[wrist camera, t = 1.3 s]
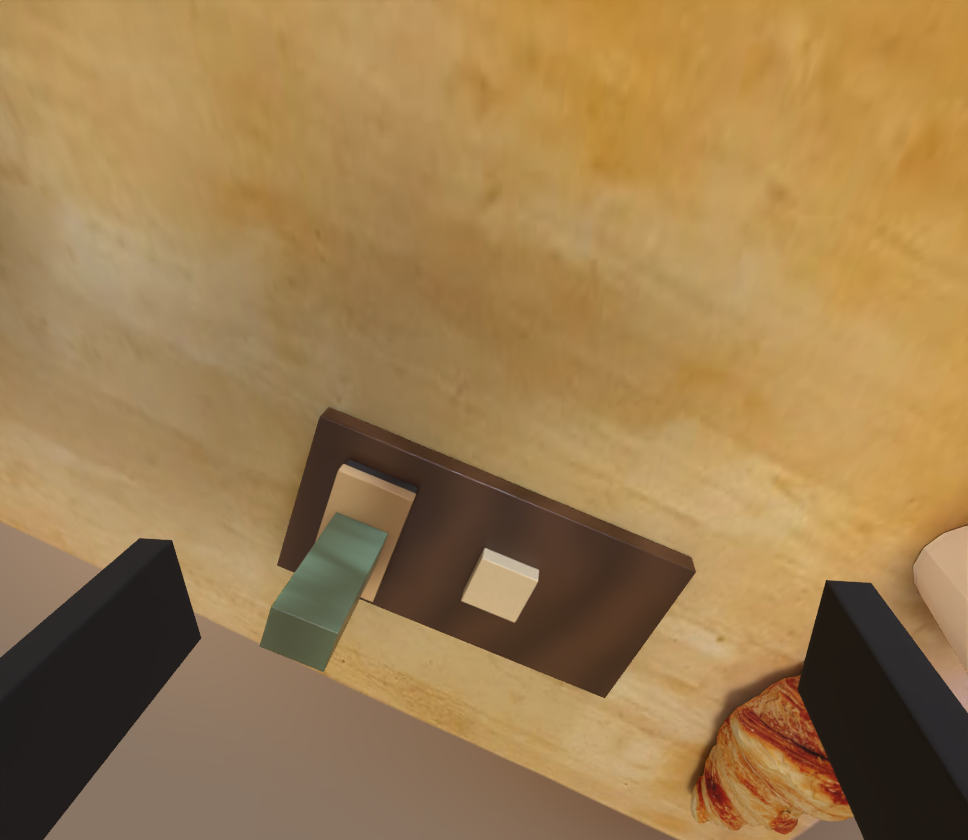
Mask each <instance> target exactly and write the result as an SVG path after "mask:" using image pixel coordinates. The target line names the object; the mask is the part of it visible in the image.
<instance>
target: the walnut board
mask: <svg viewBox="0 0 968 840" xmlns="http://www.w3.org/2000/svg"><path fill="white" fill-rule="evenodd" d="M348 460H353V461H355V462H357V463H360V464H362V465H365V466H367V467H369V468H372V469H374V470H377V471H379V472H382V473H384V474H386V475H389V476H391V477H394V478H396V479H399V480H401V481H403V482H406V483H408V484H411V485H413V486H416V487H417V491H416V497H415V499H414V502H413V504H412V507H411V509H410V512H409V514H408V517H407V519H406V522H405V524H404V527H403V529H402V532H401V534H400V537H399V539H398V542H397V544H396V547H395V549H394V552H393V554H392V556H391V559H390V561H389V564H388V566H387V569H386V571H385V574H384V576H383V579H382V581H381V584H380V586H379V589H378V591H377V594H376V596H375V598H374V600H373V602H371V601H368V600H366V599H363V598H361V597H360V599H361V600H364V601H366V602H369V603H371V604H373V605H376V606H378V607H381V608H383V609H386V610H388V611H391V612H393V613H396V614H398V615H401V616H403V617H406V618H408V619H411V620H413V621H415V622H418V623H420V624H423V625H425V626H428V627H430V628H433V629H435V630H438V631H440V632H443V633H445V634H448V635H450V636H453V637H455V638H457V639H460V640H462V641H465V642H467V643H470V644H472V645H475V646H477V647H480V648H482V649H485V650H487V651H490V652H492V653H494V654H497V655H499V656H502V657H504V658H507V659H509V660H512V661H514V662H517V663H519V664H522V665H524V666H527V667H529V668H532V669H534V670H536V671H539V672H541V673H544V674H546V675H549V676H551V677H554V678H556V679H559V680H561V681H564V682H566V683H569V684H571V685H574V686H576V687H578V688H581V689H583V690H586V691H588V692H591V693H593V694H596V695H598V696H601V697H603V698H605V697H606V696H607V695H608V693H609V692H610V690H611V689H612V688H613V686H614V685H615V684H616V682H617V681H618V679H619V678H620V677H621V675H622V674H623V672H624V671H625V670H626V668H627V667H628V666H629V664H630V663H631V661H632V660H633V659H634V657H635V656H636V654H637V653H638V652H639V650H640V649H641V647H642V646H643V645H644V643H645V642H646V641H647V639H648V638H649V636H650V635H651V634H652V632H653V631H654V629H655V628H656V627H657V625H658V624H659V623H660V621H661V620H662V618H663V617H664V616H665V614H666V613H667V611H668V610H669V609H670V607H671V606H672V605H673V603H674V602H675V600H676V599H677V598H678V596H679V595H680V593H681V592H682V591H683V589H684V588H685V586H686V585H687V584H688V582H689V581H690V580H691V578H692V577H693V575H694V574H695V573H696V570H695V567H694V564H693V561H692V558H690V557H688V556H686V555H683V554H681V553H678V552H676V551H674V550H671V549H669V548H666V547H664V546H661V545H659V544H657V543H654V542H652V541H649V540H647V539H645V538H642V537H640V536H637V535H635V534H633V533H630V532H628V531H625V530H623V529H621V528H618V527H616V526H613V525H611V524H608V523H606V522H604V521H601V520H599V519H596V518H594V517H592V516H589V515H587V514H584V513H582V512H580V511H577V510H575V509H572V508H570V507H568V506H565V505H563V504H560V503H558V502H556V501H553V500H551V499H548V498H546V497H543V496H541V495H539V494H536V493H534V492H531V491H529V490H527V489H524V488H522V487H519V486H517V485H515V484H512V483H510V482H507V481H505V480H503V479H500V478H498V477H495V476H493V475H491V474H488V473H486V472H483V471H481V470H478V469H476V468H474V467H471V466H469V465H466V464H464V463H462V462H459V461H457V460H454V459H452V458H450V457H447V456H445V455H442V454H440V453H438V452H435V451H433V450H430V449H428V448H425V447H423V446H421V445H418V444H416V443H413V442H411V441H409V440H406V439H404V438H401V437H399V436H397V435H394V434H392V433H389V432H387V431H385V430H382V429H380V428H377V427H375V426H373V425H370V424H368V423H365V422H363V421H360V420H358V419H356V418H353V417H351V416H348V415H346V414H344V413H341V412H339V411H336V410H334V409H332V408H328V409H327V410H326V411H325V412H324V413H323V414H322V415H321V416H320V418H319V421H318V425H317V428H316V432H315V435H314V439H313V442H312V446H311V449H310V453H309V456H308V460H307V463H306V467H305V470H304V474H303V477H302V480H301V484H300V487H299V491H298V494H297V498H296V501H295V505H294V508H293V512H292V515H291V519H290V522H289V526H288V529H287V533H286V536H285V540H284V543H283V547H282V550H281V553H280V557H279V560H278V564H277V565H278V566H280V567H282V568H285V569H287V570H290V571H292V572H294V573H295V571H296V570H297V569H298V567H299V566H300V564H301V563H302V561H303V560H304V558H305V557H306V555H307V554H308V553H309V551H310V550H311V548H312V547H313V545H314V544H315V541H316V538H317V535H318V532H319V529H320V526H321V522H322V519H323V516H324V513H325V510H326V507H327V504H328V501H329V497H330V494H331V491H332V488H333V485H334V482H335V479H336V475H337V472H338V470H339V469H340V467H341V466H342V465H343V464H346V463H347V462H348ZM484 548H487V549H489V550H491V551H494V552H496V553H499V554H501V555H504V556H506V557H508V558H511V559H513V560H516V561H518V562H521V563H523V564H526V565H528V566H530V567H533V568H535V569H538V570H539V578H538V583H537V585H536V586H535V588H534V590H533V592H532V593H531V595H530V597H529V599H528V601H527V602H526V604H525V606H524V608H523V609H522V611H521V613H520V615H519V616H518V618H517V620H516V622H512V621H509V620H507V619H504V618H502V617H500V616H497V615H495V614H492V613H490V612H487V611H485V610H482V609H480V608H477V607H475V606H473V605H470V604H468V603H465V602H463V601H461V599H462V595H463V591H464V588H465V586H466V584H467V582H468V580H469V578H470V576H471V574H472V572H473V570H474V568H475V566H476V564H477V562H478V560H479V558H480V556H481V554H482V552H483V550H484Z"/></svg>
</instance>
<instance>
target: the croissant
mask: <svg viewBox="0 0 968 840" xmlns="http://www.w3.org/2000/svg"><path fill="white" fill-rule="evenodd" d="M800 676H801V675H799V676H797V677H788V678H784V679H782V680H779V681H778V682H776V683H774V684H772V685H771V686H769V687H768V688H767V689H765V690H764V691H763V692H762V693H761V694H760V695H759V696H756V697H754V698H752V699H750V700H749V701H748V702H746V703H745V704H743V705H742V706H739V707H737V708H736V709H735V711H734V712H733V713H732V714H731V715H730V716H728V718H727V719H726V720H725V721H724V722H723V724H722V726H721V727H720V729H719V732H718V735H717V745H715V746H714V747H713V748H712V750H711V752H710V755H709V757H708V758H707V760H706V763H705V769H704V775H703V776H701V777H699V779H698V781H697V783H696V785H695V787H694V789H693V793H692V797H691V811H692V814H693V817H694V818H695V820H696V821H697V822H698V823H705V822H707V821H710V822H711V823H713V824H715V825H718V826H721V827H723V828H728V829H729V830H739V829H740V828H741V827H742V826H743V825H745V824H749V825H752V826H764V827H765V828H767V829H769V830H773V831H776V832H778V833H781V834H788V833H789V832H791V831H792V830H793V829H794V828H795V826H796V825H797V822H798V818H799V816H800V815H801V814H803V813H805V814H810V815H812V816H813V817H815V818H818V819H821V820H824V821H842V820H846V819H848V818H851V817H854V815H853V813H852V811H851V809H850V806H849V804H848V802H847V800H846V797H845V795H844V793H843V791H842V788H841V786H840V784H839V782H838V780H837V777H836V775H835V773H834V771H833V768H832V766H831V764H830V762H829V759H828V757H827V755H826V753H825V750H824V748H823V746H822V744H821V741H820V739H819V737H818V735H817V733H816V730H815V728H814V726H813V724H812V721H811V719H810V717H809V715H808V712H807V710H806V708H805V706H804V703H803V701H802V699H801V697H800V694H799V692H798V690H797V688H798V684H799V680H800Z"/></svg>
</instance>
